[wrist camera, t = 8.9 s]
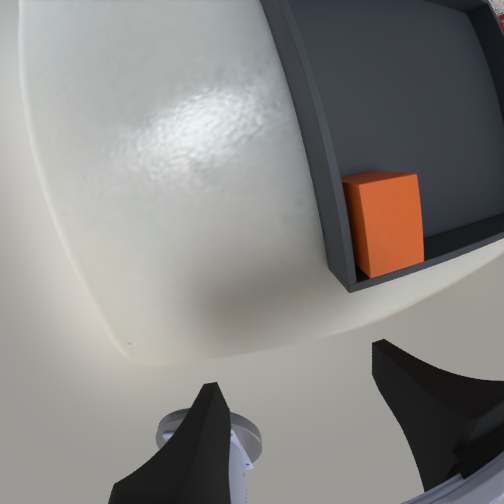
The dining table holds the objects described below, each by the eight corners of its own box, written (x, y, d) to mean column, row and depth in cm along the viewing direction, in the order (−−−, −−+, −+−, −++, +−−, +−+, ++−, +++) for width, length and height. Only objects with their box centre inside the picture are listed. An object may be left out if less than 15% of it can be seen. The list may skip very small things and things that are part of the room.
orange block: (388, 241, 20) (424, 261, 15) (342, 253, 20) (370, 279, 16) (379, 170, 19) (417, 173, 14) (329, 180, 19) (358, 184, 14)
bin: (511, 213, 21) (539, 221, 16) (328, 269, 21) (349, 293, 17) (464, 11, 14) (488, 0, 10) (256, -10, 15) (260, -42, 10)
